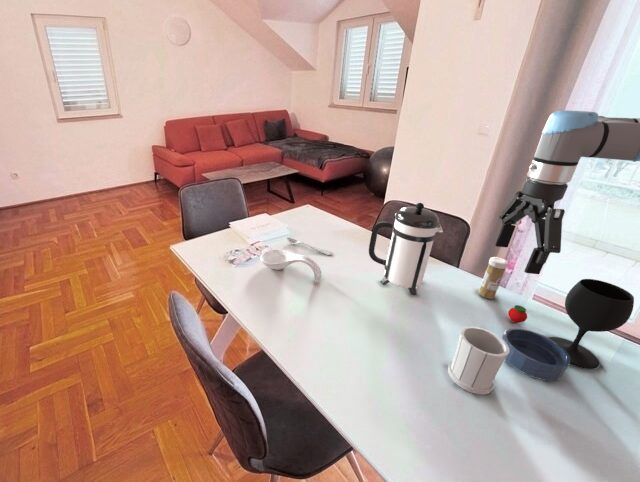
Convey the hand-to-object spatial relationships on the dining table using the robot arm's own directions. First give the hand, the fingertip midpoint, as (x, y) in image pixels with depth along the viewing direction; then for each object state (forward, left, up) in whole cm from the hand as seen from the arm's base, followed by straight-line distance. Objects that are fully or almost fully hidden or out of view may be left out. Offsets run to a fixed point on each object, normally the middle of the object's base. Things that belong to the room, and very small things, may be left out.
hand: (515, 258), depth 82 cm
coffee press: (+23, -14, -22) cm, 35 cm away
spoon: (+57, -27, -23) cm, 67 cm away
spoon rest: (+60, -7, -23) cm, 65 cm away
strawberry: (-8, -5, -22) cm, 24 cm away
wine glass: (-17, +4, -23) cm, 28 cm away
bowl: (-6, +11, -22) cm, 26 cm away
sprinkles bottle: (-4, -17, -23) cm, 28 cm away
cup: (+9, +22, -23) cm, 33 cm away
